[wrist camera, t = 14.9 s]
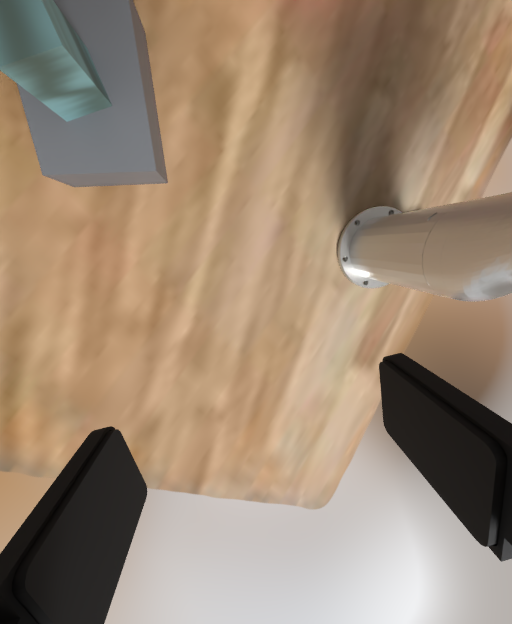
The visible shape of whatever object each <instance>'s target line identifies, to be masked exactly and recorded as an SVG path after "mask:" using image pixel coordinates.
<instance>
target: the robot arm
mask: <svg viewBox="0 0 512 624" xmlns="http://www.w3.org/2000/svg"><path fill="white" fill-rule="evenodd" d="M388 213H389V214H388ZM355 222H356V224H354V223H355ZM337 256H338V263H339V266H340V269H341V271H342V272H343V274H344V276H345V277H346V278H347V279H348V280H349V281H351V282H352V283H353V284H356V285H358V286H360V287H364V288H379V287H383V286H386V285H388V284H393V285H397V286H401V287H406V288H410V289H414V290H418V291H422V292H426V293H430V294H435V295H439V296H443V297H448V298H453V299H457V300H462V301H485V300H490V299H495V298H498V297H502V296H505V295H508V294H510V293H512V192H510V193H506V194H501V195H497V196H492V197H486V198H480V199H475V200H470V201H466V202H460V203H454V204H449V205H443V206H438V207H432V208H427V209H421V210H416V211H410V212H404V213H402V212H401V211H399V210H397V209H395V208H392V207H389V206H377V207H372V208H369V209H366V210H364V211H362V212H360V213H358V214H357V215H356V216H355V217H353V218H352V219H351V220H350V222H349V223H348V224H347V225H346V227H345V228H344V230H343V232H342V234H341V236H340V239H339V243H338V250H337ZM343 257H344V260H343ZM363 282H364V283H363ZM379 370H380V383H381V396H382V409H383V420H384V421H383V422H384V426H385V428H386V431H387V432H388V434H389V435H390V436H391V437H392V439H393V440H394V441H395V442H396V443H397V445H398V446H399V447H400V448H401V449H402V451H403V452H404V453H405V454H406V456H407V457H408V458H409V459H410V460H411V462H412V463H413V464H414V465H415V466H416V468H417V469H418V470H419V471H420V472H421V474H422V475H423V476H424V477H425V479H426V480H427V481H428V482H429V483H430V485H431V486H432V487H433V488H434V490H435V491H436V492H437V493H438V494H439V496H440V497H441V498H442V499H443V500H444V501H445V503H446V504H447V505H448V506H449V508H450V509H451V510H452V511H453V513H454V514H455V515H456V516H457V517H458V519H459V520H460V521H461V522H462V523H463V525H464V526H465V527H466V528H467V529H468V531H469V532H470V533H471V534H472V536H473V537H474V538H475V539H476V540H477V541H478V542H479V543H480V544H481V545H483V546H485V547H486V546H488V547H489V548H490V549H491V550H492V551H493V553H494V554H495V555H496V556H497V557H498V558H499V560H500V561H505V560H508V559H512V424H511V423H510V422H508V421H507V420H505V419H503V418H502V417H500V416H499V415H497V414H496V413H494V412H492V411H491V410H489V409H488V408H486V407H485V406H483V405H482V404H480V403H479V402H477V401H476V400H474V399H472V398H471V397H469V396H468V395H466V394H465V393H463V392H461V391H460V390H459V389H457V388H455V387H454V386H452V385H451V384H449V383H448V382H446V381H445V380H443V379H441V378H440V377H438V376H437V375H435V374H434V373H432V372H430V371H429V370H427V369H426V368H424V367H423V366H421V365H420V364H418V363H417V362H415V361H413V360H412V359H410V358H409V357H407V356H405V355H404V354H402V353H398V354H394V355H390V356H386V357H384V358H383V362H381V363H380V364H379ZM146 496H147V486H146V483H145V481H144V479H143V477H142V475H141V473H140V471H139V469H138V467H137V465H136V463H135V461H134V459H133V457H132V455H131V452H130V450H129V448H128V446H127V444H126V442H125V440H124V438H123V436H122V434H121V432H120V431H119V430H117V429H116V430H115V428H114V427H106V428H102V429H98V430H94V431H92V432H91V433H90V434H89V435H88V437H87V438H86V439H85V441H84V442H83V443H82V445H81V446H80V447H79V449H78V450H77V452H76V453H75V454H74V456H73V457H72V458H71V460H70V461H69V462H68V464H67V465H66V466H65V468H64V469H63V470H62V472H61V473H60V474H59V476H58V477H57V478H56V480H55V481H54V482H53V484H52V485H51V486H50V488H49V489H48V491H47V492H46V493H45V495H44V496H43V497H42V499H41V500H40V501H39V503H38V504H37V505H36V507H35V508H34V509H33V511H32V512H31V514H30V515H29V516H28V517H27V519H26V520H25V522H24V523H23V524H22V525H21V527H20V528H19V529H18V531H17V532H16V534H15V535H14V536H13V537H12V539H11V540H10V542H9V543H8V544H7V546H6V547H5V549H4V550H3V551H2V552H1V554H0V624H104V622H105V619H106V616H107V613H108V610H109V608H110V604H111V601H112V598H113V595H114V593H115V589H116V587H117V583H118V581H119V578H120V575H121V571H122V569H123V565H124V563H125V560H126V557H127V554H128V551H129V548H130V545H131V542H132V539H133V536H134V533H135V530H136V527H137V524H138V521H139V518H140V515H141V512H142V509H143V506H144V503H145V500H146Z"/></svg>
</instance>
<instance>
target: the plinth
mask: <svg viewBox="0 0 512 624" xmlns="http://www.w3.org/2000/svg"><path fill="white" fill-rule="evenodd" d="M53 1H54V2H55V4H56V5H57V6H58V8H59V9H60V11H61V12H62V13H63V15H64V16H65V18H66V19H67V21H68V22H69V23H70V25H71V26H72V28H73V29H74V30H75V32H76V33H77V35H78V36H79V37H80V39H81V40H82V42H83V43H84V44H85V46H86V47H87V49H88V52H89V54H90V56H91V59H92V61H93V63H94V65H95V68H96V70H97V72H98V74H99V77H100V79H101V81H102V84H103V86H104V88H105V90H106V93H107V95H108V97H109V99H110V102H111V104H112V106H110V107H108V108H105V109H102V110H99V111H96V112H93V113H91V114H88V115H85V116H82V117H79V118H76V119H74V120H71V121H68V122H67V121H65V120H64V119H63V118H62V117H60V116H59V115H58V114H56V113H55V112H54V111H52V110H51V109H50V108H49V107H47V106H46V105H45V104H43V103H42V102H41V101H39V100H38V99H37V98H36V97H34V96H33V95H32V94H30V93H29V92H28V91H26V90H25V89H24V88H23V87H21V86H20V85H19V84H17V86H18V89H19V93H20V96H21V100H22V104H23V107H24V111H25V114H26V118H27V121H28V125H29V128H30V132H31V136H32V139H33V143H34V146H35V150H36V153H37V157H38V160H39V164H40V168H41V171H42V175H43V176H46V177H49V178H51V179H54V180H57V181H59V182H62V183H65V184H67V185H70V186H73V187H89V186H113V185H137V184H161V183H168V181H167V174H166V167H165V161H164V154H163V148H162V141H161V134H160V128H159V121H158V115H157V108H156V101H155V95H154V88H153V81H152V75H151V68H150V62H149V55H148V48H147V42H146V35H145V31H144V28H143V26H142V23H141V20H140V18H139V15H138V12H137V10H136V7H135V5H134V2H133V0H53Z"/></svg>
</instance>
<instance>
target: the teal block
mask: <svg viewBox="0 0 512 624" xmlns="http://www.w3.org/2000/svg"><path fill="white" fill-rule="evenodd" d="M0 71H2V72H3V73H4V74H6V75H7V76H8V77H10V78H11V79H12V80H13V81H15V82H16V83H17V84H19V85H20V86H21V87H23V88H24V89H25V90H26V91H28V92H29V93H30V94H32V95H33V96H34V97H36V98H37V99H38V100H39V101H41V102H42V103H43V104H45V105H46V106H47V107H49V108H50V109H51V110H52V111H54V112H55V113H56V114H58V115H59V116H60V117H62V118H63V119H64V120H65V121H67V122H68V121H71V120H74V119H76V118H79V117H82V116H85V115H88V114H91V113H93V112H96V111H99V110H102V109H105V108H108V107H110V106H112V104H111V102H110V99H109V97H108V95H107V93H106V90H105V88H104V86H103V84H102V81H101V79H100V77H99V74H98V72H97V70H96V68H95V65H94V63H93V61H92V59H91V56H90V54H89V52H88V49H87V47H86V46H85V44H84V43H83V42H82V40H81V39H80V37H79V36H78V35H77V33H76V32H75V30H74V29H73V28H72V26H71V25H70V23H69V22H68V21H67V19H66V18H65V16H64V15H63V13H62V12H61V11H60V9H59V8H58V6H57V5H56V4H55V2H54V1H53V0H0Z"/></svg>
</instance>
